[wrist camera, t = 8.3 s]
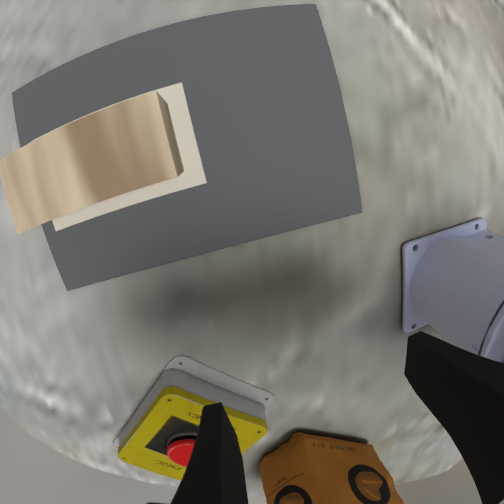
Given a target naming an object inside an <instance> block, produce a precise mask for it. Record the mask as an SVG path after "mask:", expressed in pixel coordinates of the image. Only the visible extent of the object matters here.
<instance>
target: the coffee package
mask: <svg viewBox="0 0 504 504" xmlns="http://www.w3.org/2000/svg"><path fill="white" fill-rule="evenodd" d="M259 468H260V472H261V477H262V482H263V488H264V492H265V496H266V501H267V504H404V503H403V500H402V499H401V498H400V496H399V495H398V494H397V492H396V489H395V486H394V482H393V478H392V477H391V475H390V474H389V472H388V471H387V469H386V468H385V467H384V465H383V463H382V462H381V461H380V459H379V457H378V455H377V454H376V452H375V450H374V448H373V446H372V445H371V444H362V443H357V442H350V441H345V440H340V439H335V438H331V437H324V436H317V435H309V434H305V433H302V432H297V433H295V434H293V435H292V437H291V439H290V440H289V441H288V442H286V443H283V444H282V445H280V447H279V448H277V449H276V450H275V451H273V452H272V453H269V454H268V455H266V456H264V457H263V460H262V461H261V462H260V464H259Z"/></svg>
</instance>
